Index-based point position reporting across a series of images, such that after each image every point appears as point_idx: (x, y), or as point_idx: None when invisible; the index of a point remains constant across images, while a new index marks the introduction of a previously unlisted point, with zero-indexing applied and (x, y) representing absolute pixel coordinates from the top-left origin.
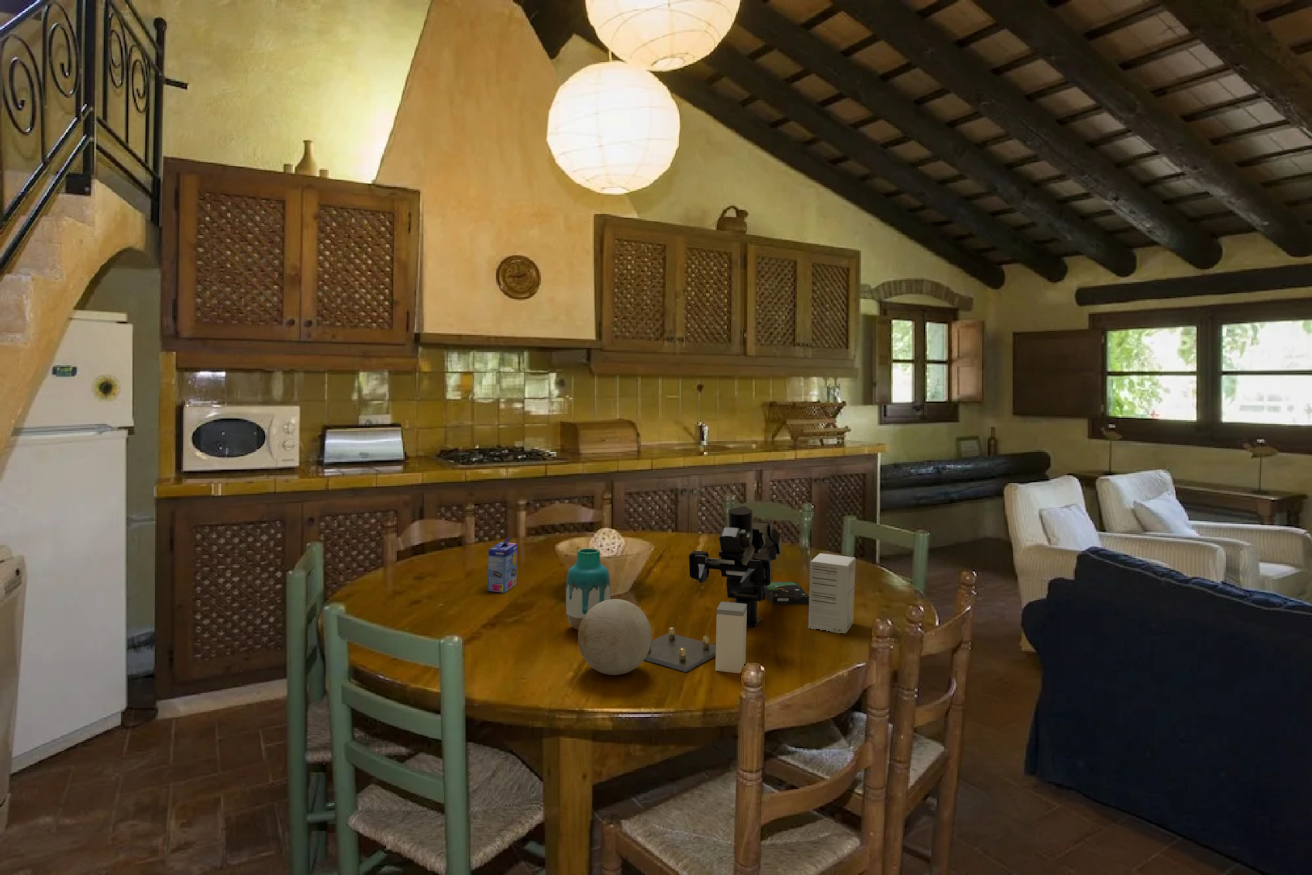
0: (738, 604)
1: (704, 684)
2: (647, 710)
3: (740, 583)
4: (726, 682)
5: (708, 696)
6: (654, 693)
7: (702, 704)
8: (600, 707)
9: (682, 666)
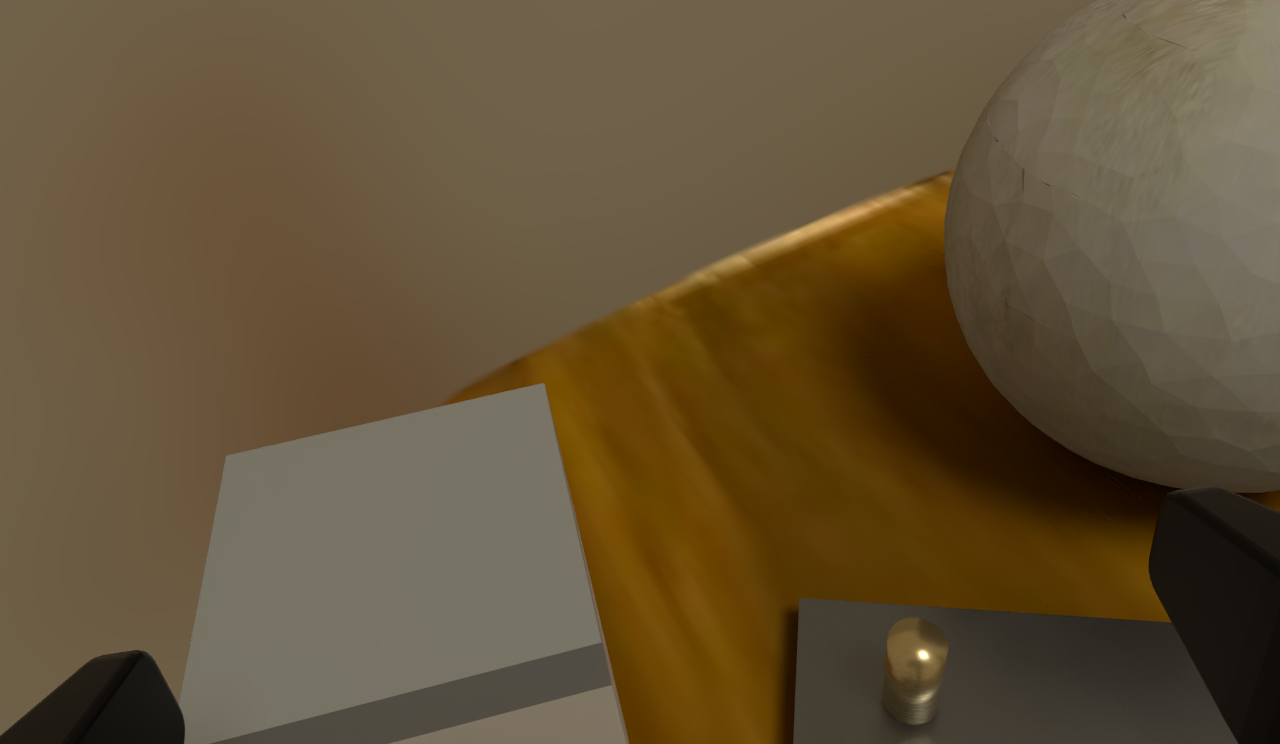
0: (308, 658)
1: (609, 536)
2: (717, 263)
3: (142, 658)
4: None
5: None
6: (785, 356)
7: (534, 377)
8: (884, 211)
9: (832, 600)
